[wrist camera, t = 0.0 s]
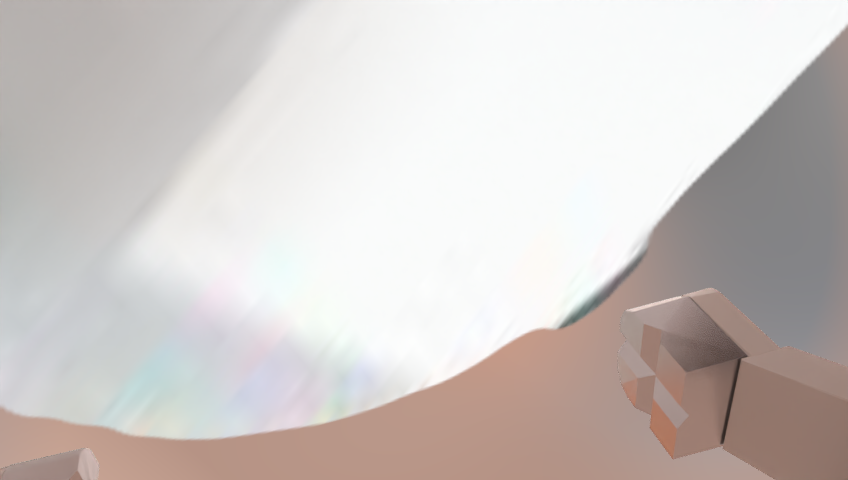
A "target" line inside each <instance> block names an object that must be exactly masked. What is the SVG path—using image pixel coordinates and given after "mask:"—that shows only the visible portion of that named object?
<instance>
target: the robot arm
mask: <svg viewBox="0 0 848 480" xmlns="http://www.w3.org/2000/svg"><path fill="white" fill-rule="evenodd" d="M620 331H621V333H622V334H623V335H624V337H625V338H626V339H627V340H626V342H625V343H624V344H623V346H622V347H621V348H620V350H619V351H618V364H617V368H618V373H619V377H620V381H621V385H622V387H623V389H624V391H625V393H626V395H627V397H628V398H629V400H630V401H631V403H632V404H633V405H634V407H635V408H637V409H639V410H641V411H643V412H646V413H648V414H650V415H651V421H650V429H651V430H652V432H653V433H654V434H655V436H656V437H657V438H658V440H659V441H660V443H661V444H662V445H663V447H664V448H665V449H666V451H667V452H668V453H669V455H670V456H671V457H672V459H676V458H679V457H683V456H687V455H691V454H695V453H698V452H702V451H706V450H710V449H713V448H717V447H721V446H723V449H724V450H726V451H727V452H729V453H731V454H732V455H734V456H736V457H738V458H739V459H741V460H743V461H744V462H746V463H748V464H750V465H751V466H753V467H755V468H756V469H758V470H760V471H762V472H763V473H765V474H767V475H768V476H770V477H772V478H773V479H775V480H848V367H847V366H844V365H841V364H838V363H835V362H833V361H829V360H827V359H824V358H821V357H818V356H815V355H812V354H810V353H807V352H804V351H801V350H799V349H796V348H793V347H790V346H787V347H783V348H779V347H778V346H777V345H776V344H775V343H774V342H773V341H772V340H771V339H770V338H769V337H768V336H767V335H765V334H764V333H763V332H762V331H761V330H760V329H759V328H758V327H757V326H756V325H755V324H753V322H751V321H750V320H749V319H748V318H747V317H746V316H745V315H744V314H743V313H742V312H741V311H740V310H738V309H737V308H736V307H735V306H734V305H733V304H732V303H731V302H730V301H729V300H728V299H727V298H726V297H725V296H723V295H722V294H721V293H720V292H719V291H718V290H715V289H713V288H707V289H703V290H700V291H696V292H692V293H689V294H685V295H682V296H681V297H675V298H671V299H667V300H663V301H660V302H656V303H652V304H648V305H644V306H641V307H637V308H633V309H629V310H625V311H624V313H623V315H622V317H621V322H620ZM98 472H99V464H98V462H97V460H96V458H95V456H94V454H93V453H92V451H91V449H86V448H82V449H78V450H73V451H69V452H65V453H60V454H56V455H52V456H47V457H43V458H39V459H34V460H30V461H26V462H21V463H17V464H13V465H10V466H8V467H5V468H0V480H98Z"/></svg>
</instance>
